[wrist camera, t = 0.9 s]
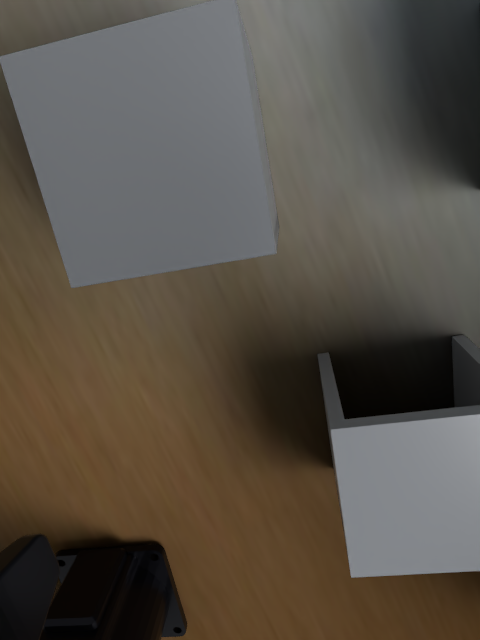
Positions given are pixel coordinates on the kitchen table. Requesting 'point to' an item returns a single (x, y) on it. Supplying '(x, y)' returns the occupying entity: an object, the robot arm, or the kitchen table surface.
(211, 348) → the kitchen table surface
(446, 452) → the open box
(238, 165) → the grey bracket
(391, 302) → the kitchen table surface
